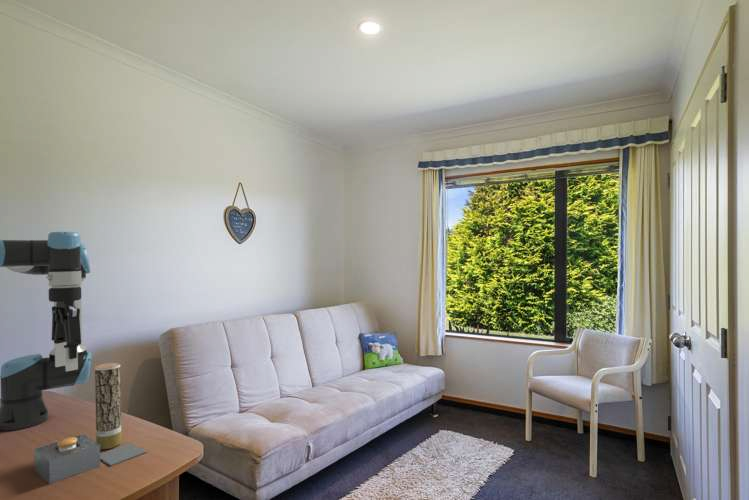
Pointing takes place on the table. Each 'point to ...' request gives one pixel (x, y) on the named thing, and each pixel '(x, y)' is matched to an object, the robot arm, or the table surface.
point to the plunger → (67, 444)
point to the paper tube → (108, 405)
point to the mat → (121, 454)
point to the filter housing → (66, 459)
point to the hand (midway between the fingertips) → (66, 367)
